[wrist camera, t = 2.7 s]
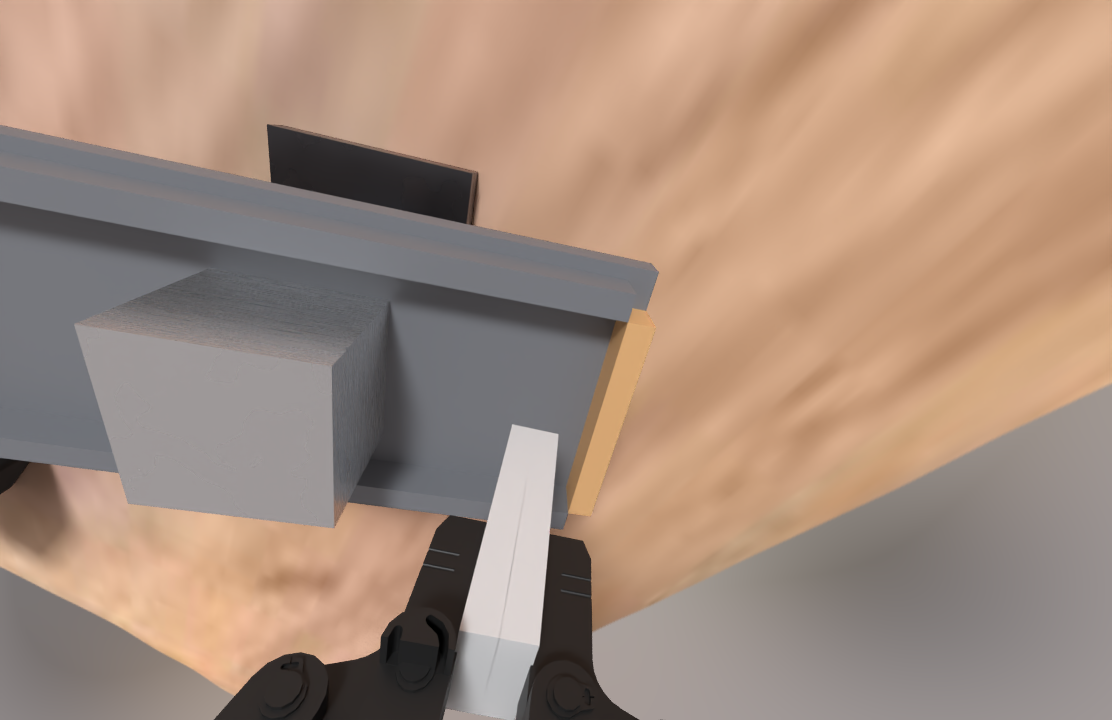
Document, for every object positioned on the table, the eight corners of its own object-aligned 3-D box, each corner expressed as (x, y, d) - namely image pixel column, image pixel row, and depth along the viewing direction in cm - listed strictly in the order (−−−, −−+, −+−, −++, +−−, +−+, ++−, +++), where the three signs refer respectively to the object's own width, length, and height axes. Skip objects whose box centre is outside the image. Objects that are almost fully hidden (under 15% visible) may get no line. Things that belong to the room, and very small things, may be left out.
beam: (644, 255, 18) (670, 286, 14) (575, 477, 23) (582, 540, 20) (-140, 87, 14) (-362, 72, 11) (-9, 393, 20) (-129, 451, 16)
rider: (389, 300, 16) (331, 366, 11) (383, 433, 19) (334, 528, 14) (210, 267, 15) (74, 324, 11) (230, 410, 18) (128, 503, 13)
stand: (477, 171, 22) (436, 183, 16) (449, 399, 29) (411, 470, 22) (282, 125, 22) (162, 118, 16) (296, 365, 28) (213, 429, 22)
